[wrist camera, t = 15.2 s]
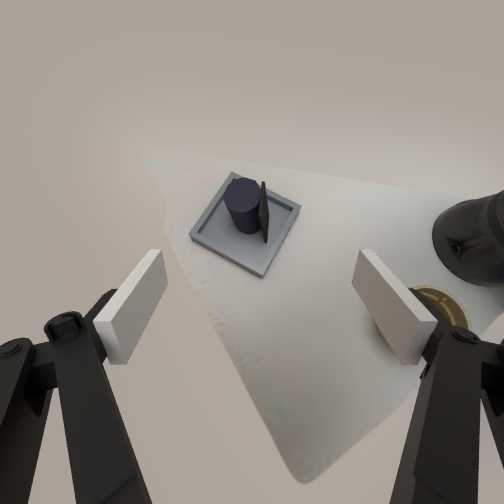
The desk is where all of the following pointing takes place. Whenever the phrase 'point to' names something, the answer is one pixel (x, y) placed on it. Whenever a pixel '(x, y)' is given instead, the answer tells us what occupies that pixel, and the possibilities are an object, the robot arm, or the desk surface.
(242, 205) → the dark cylinder with plate
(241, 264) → the tray
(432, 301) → the flower pot
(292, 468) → the desk surface
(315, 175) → the desk surface
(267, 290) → the desk surface
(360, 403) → the desk surface
